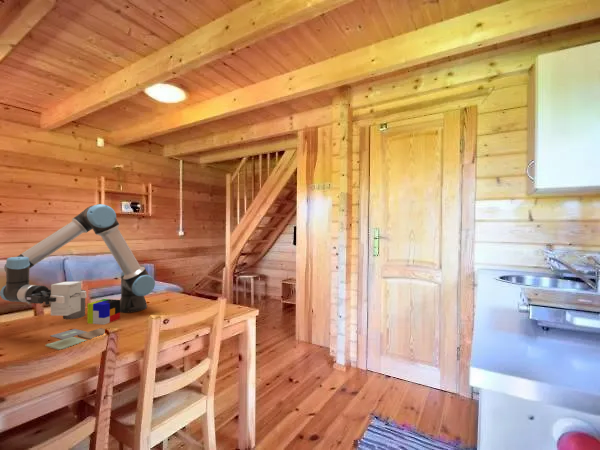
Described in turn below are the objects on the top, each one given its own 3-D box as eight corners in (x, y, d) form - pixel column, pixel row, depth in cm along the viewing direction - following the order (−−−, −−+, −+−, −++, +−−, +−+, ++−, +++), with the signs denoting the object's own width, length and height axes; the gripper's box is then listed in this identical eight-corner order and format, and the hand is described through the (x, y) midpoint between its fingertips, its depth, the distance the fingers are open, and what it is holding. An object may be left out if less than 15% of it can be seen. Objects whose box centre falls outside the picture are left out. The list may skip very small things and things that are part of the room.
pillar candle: (58, 318, 161) (59, 290, 161) (78, 313, 170) (78, 286, 170) (70, 320, 157) (70, 291, 157) (89, 315, 166) (89, 288, 166)
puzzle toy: (104, 324, 150) (104, 304, 150) (87, 323, 152) (87, 303, 152) (120, 318, 160) (120, 299, 160) (104, 317, 162) (104, 299, 162)
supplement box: (68, 315, 122) (68, 284, 122) (49, 315, 122) (50, 284, 122) (81, 310, 129) (81, 281, 129) (64, 310, 129) (64, 281, 129)
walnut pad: (100, 329, 143) (100, 328, 143) (114, 332, 139) (114, 331, 139) (77, 336, 134) (77, 335, 134) (91, 339, 130) (91, 338, 130)
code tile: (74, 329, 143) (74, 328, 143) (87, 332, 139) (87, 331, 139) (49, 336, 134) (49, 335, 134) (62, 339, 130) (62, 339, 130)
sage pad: (72, 337, 132) (72, 336, 132) (86, 341, 128) (86, 340, 128) (45, 346, 123) (45, 344, 123) (59, 350, 119) (59, 348, 119)
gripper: (59, 297, 140) (98, 300, 135) (4, 309, 120) (47, 313, 114) (59, 281, 141) (98, 283, 135) (4, 290, 120) (47, 293, 114)
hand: (74, 297), depth 124 cm, fingers closed on supplement box, 9 cm apart
